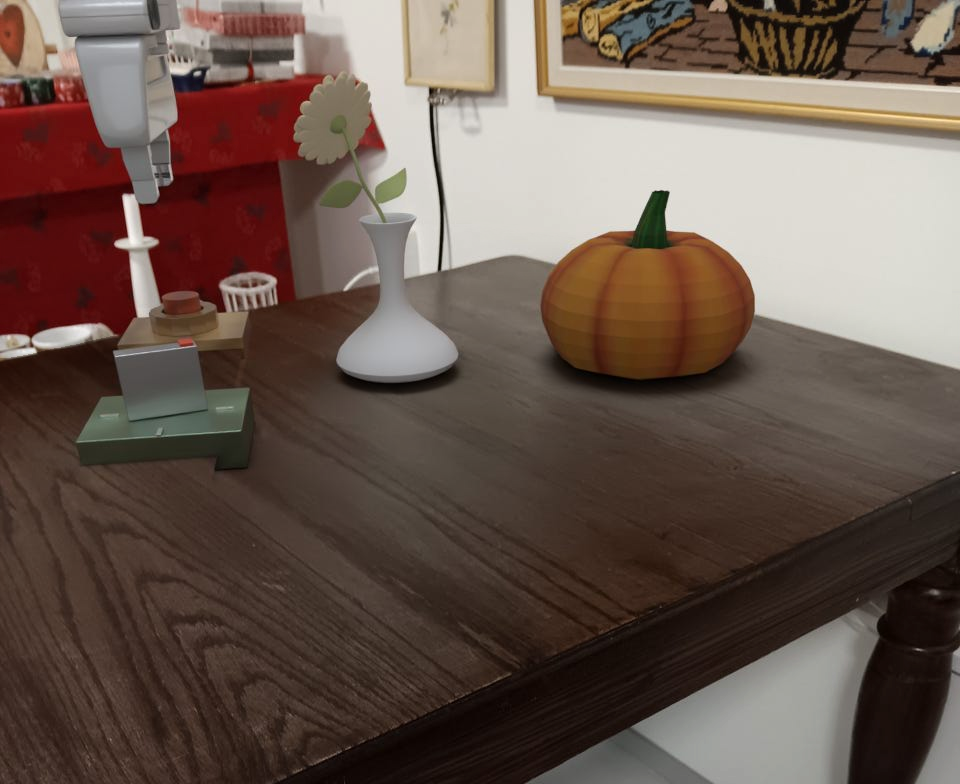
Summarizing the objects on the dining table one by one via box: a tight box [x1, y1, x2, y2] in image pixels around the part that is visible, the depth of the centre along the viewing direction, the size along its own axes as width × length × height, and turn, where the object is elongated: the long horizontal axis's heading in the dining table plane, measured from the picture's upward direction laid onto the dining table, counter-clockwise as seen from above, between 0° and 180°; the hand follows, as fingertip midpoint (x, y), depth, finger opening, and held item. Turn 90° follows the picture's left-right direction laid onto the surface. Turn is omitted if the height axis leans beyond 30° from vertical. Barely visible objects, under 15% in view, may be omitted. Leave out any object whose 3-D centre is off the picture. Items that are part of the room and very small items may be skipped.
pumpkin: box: [540, 189, 756, 381], centre depth 91 cm, size 19×19×15 cm
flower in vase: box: [292, 70, 459, 384], centre depth 86 cm, size 13×11×25 cm
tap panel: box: [75, 387, 256, 471], centre depth 78 cm, size 12×10×3 cm
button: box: [161, 290, 201, 315], centre depth 100 cm, size 4×4×2 cm
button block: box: [116, 300, 253, 360], centre depth 101 cm, size 12×10×4 cm
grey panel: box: [112, 338, 208, 421], centre depth 76 cm, size 6×2×5 cm, turn 112°
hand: (156, 193), depth 87 cm, fingers open, 8 cm apart
